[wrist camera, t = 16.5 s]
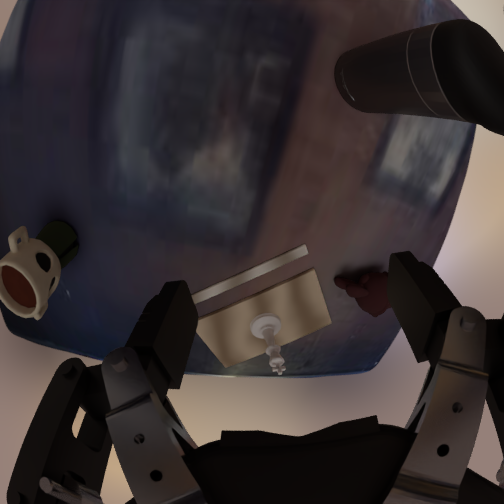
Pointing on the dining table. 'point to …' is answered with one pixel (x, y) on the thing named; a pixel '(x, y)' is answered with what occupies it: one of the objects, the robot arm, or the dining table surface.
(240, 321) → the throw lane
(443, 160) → the dining table surface
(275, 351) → the chess piece
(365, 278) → the dark brown lumpy figurine
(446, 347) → the robot arm
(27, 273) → the character mug
